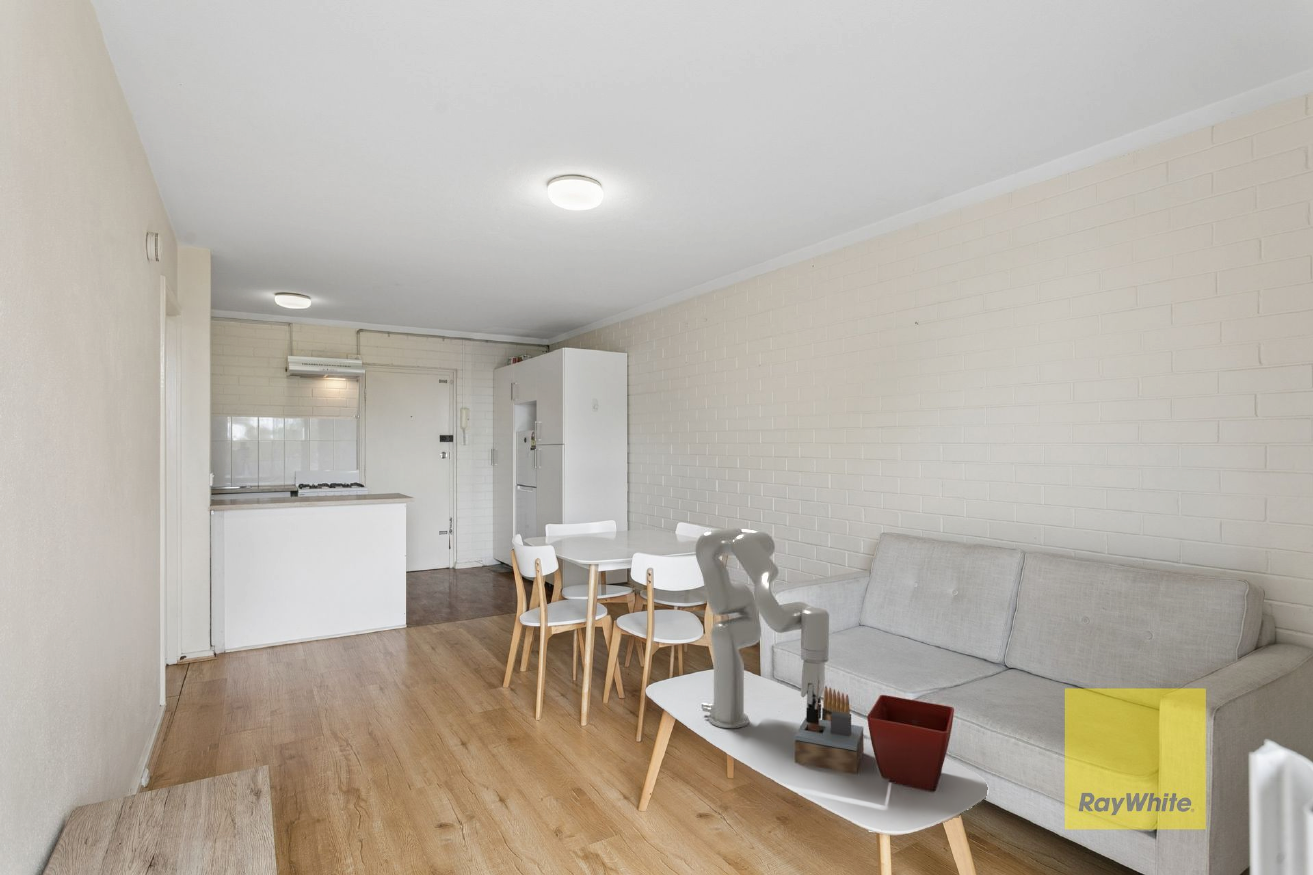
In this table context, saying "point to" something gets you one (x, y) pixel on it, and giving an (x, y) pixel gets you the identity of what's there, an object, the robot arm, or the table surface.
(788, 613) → the robot arm
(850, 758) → the brown hollow box
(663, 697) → the table surface
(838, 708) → the ammunition clip
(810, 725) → the brown rounded cylinder
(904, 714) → the plant pot
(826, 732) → the toolbox lid
